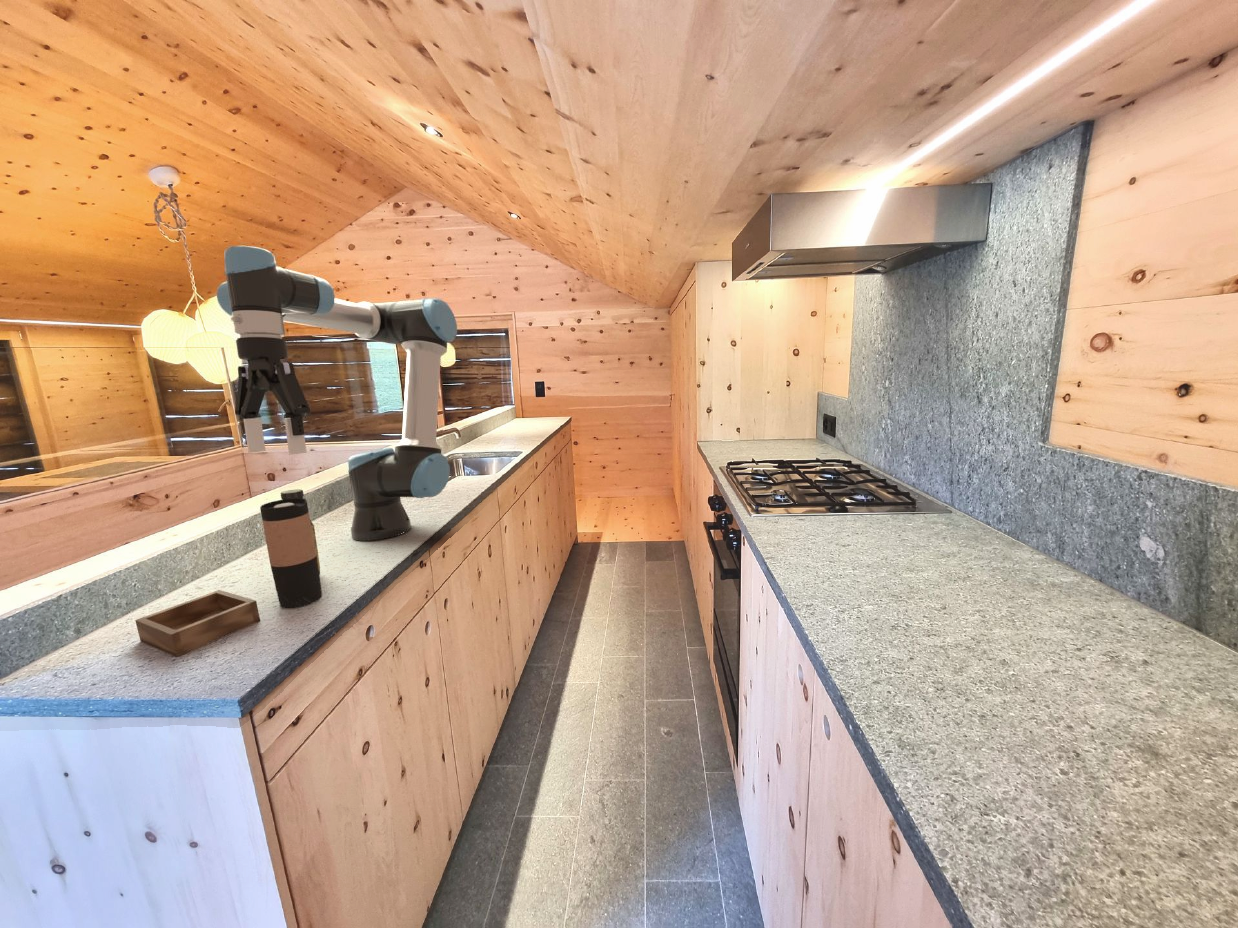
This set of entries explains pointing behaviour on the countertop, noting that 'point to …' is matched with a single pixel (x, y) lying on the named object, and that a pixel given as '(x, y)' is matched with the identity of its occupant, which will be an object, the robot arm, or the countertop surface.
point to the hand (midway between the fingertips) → (276, 452)
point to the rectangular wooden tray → (197, 622)
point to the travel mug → (292, 552)
